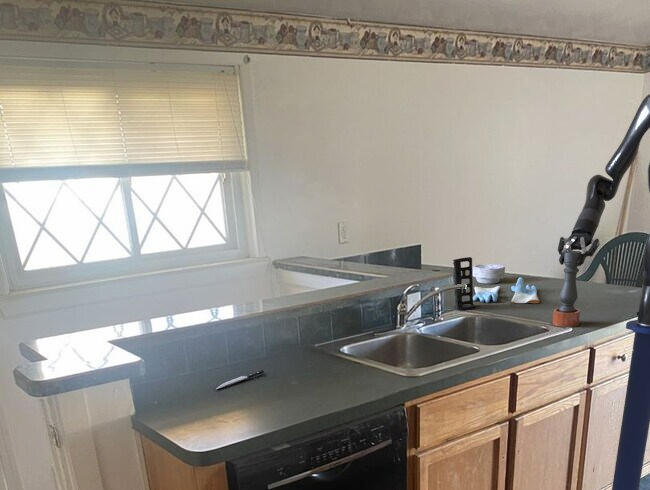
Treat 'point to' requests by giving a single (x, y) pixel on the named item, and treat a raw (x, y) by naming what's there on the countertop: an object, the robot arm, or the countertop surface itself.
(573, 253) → the candle holder
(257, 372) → the chef's knife
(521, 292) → the rubber gloves
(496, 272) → the paper bowls
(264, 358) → the countertop surface
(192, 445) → the countertop surface
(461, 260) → the holder
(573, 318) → the holder cup
